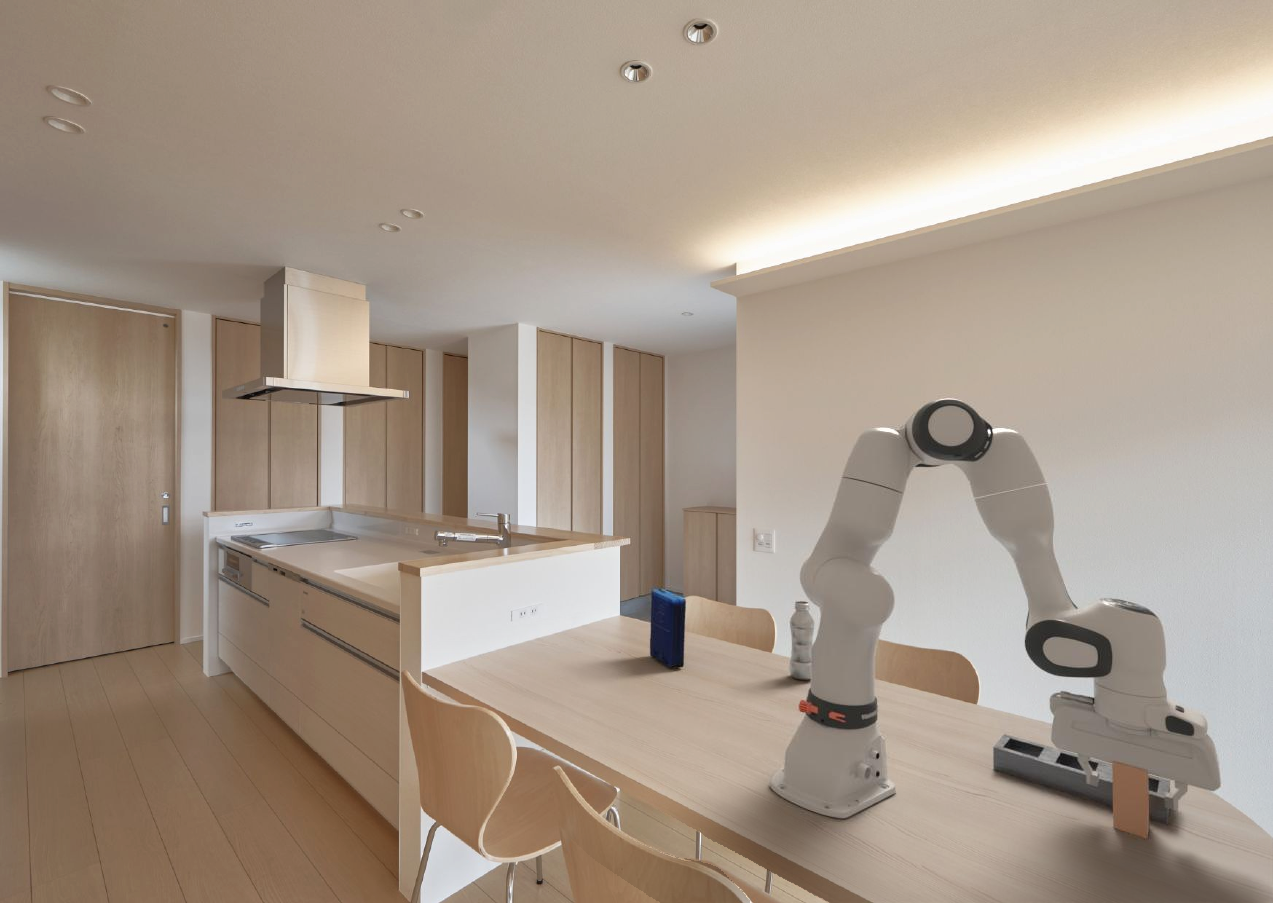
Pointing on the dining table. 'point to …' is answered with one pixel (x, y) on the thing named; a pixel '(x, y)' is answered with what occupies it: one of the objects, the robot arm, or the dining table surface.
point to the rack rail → (1069, 773)
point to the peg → (1130, 799)
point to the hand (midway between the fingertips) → (1130, 795)
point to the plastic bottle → (801, 641)
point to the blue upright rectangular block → (667, 628)
